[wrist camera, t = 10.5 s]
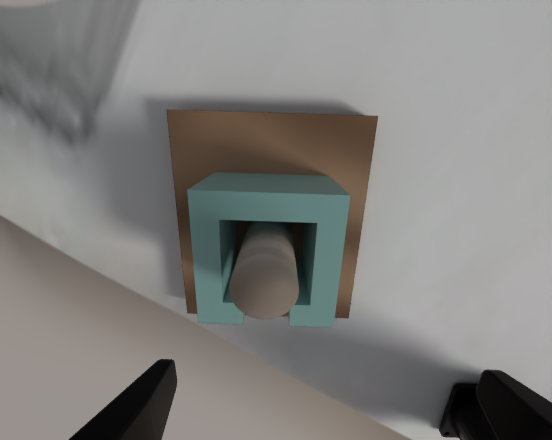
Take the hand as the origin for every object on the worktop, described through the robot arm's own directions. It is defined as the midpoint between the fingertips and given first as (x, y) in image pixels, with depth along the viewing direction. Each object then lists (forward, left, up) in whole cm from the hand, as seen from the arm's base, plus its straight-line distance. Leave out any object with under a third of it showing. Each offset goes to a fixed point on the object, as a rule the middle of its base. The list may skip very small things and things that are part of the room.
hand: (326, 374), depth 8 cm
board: (+1, +2, -12) cm, 12 cm away
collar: (+1, +2, -10) cm, 10 cm away
